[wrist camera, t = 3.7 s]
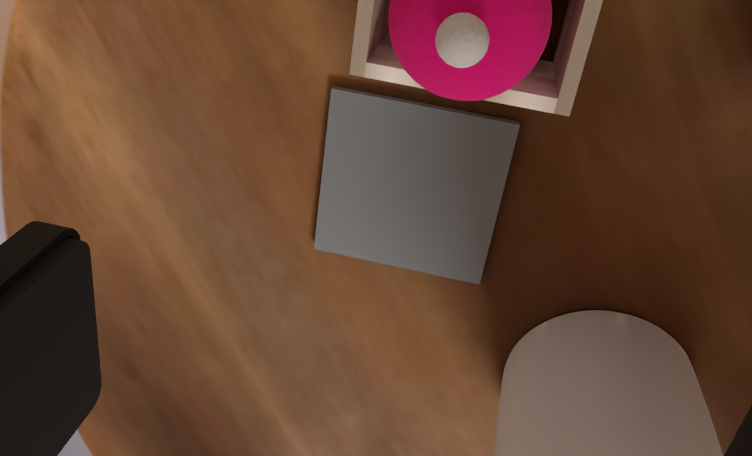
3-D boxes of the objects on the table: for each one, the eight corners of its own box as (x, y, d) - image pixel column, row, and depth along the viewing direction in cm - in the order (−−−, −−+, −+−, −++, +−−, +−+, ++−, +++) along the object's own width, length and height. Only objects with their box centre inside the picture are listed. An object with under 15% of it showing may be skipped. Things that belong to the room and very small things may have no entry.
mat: (520, 121, 44) (520, 125, 43) (479, 280, 50) (479, 284, 49) (333, 85, 45) (331, 88, 44) (316, 244, 51) (313, 248, 50)
